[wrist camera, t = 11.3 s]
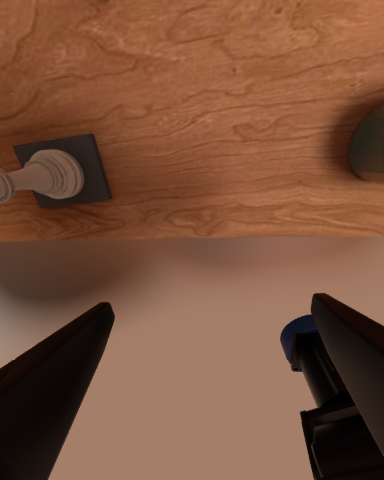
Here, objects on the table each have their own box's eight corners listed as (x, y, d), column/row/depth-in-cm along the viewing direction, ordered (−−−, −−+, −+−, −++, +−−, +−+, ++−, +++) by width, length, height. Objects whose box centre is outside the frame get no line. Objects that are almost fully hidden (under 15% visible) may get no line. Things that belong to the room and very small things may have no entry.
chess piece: (92, 192, 20) (-10, 226, 11) (54, 199, 20) (-71, 238, 11) (73, 144, 18) (-66, 137, 9) (33, 154, 19) (-136, 157, 10)
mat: (112, 198, 20) (109, 200, 20) (44, 206, 21) (39, 208, 21) (93, 134, 18) (89, 133, 18) (17, 146, 19) (12, 146, 19)
